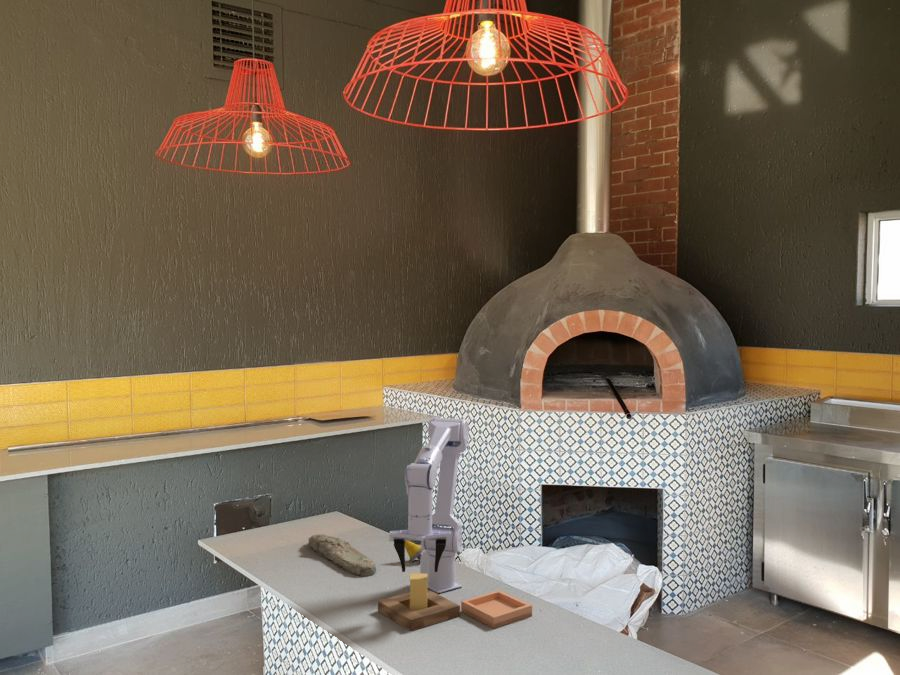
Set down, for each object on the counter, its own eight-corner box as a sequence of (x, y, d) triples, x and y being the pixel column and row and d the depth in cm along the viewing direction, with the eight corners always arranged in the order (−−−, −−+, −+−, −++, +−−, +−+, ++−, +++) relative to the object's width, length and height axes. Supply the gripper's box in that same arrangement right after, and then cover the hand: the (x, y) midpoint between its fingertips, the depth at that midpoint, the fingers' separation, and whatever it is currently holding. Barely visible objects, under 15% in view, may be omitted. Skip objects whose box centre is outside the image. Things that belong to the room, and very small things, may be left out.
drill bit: (420, 568, 212) (396, 542, 213) (417, 570, 217) (392, 545, 218) (433, 554, 214) (408, 529, 215) (429, 556, 219) (405, 531, 220)
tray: (461, 611, 180) (461, 601, 180) (498, 600, 188) (498, 590, 188) (493, 628, 171) (494, 617, 171) (532, 615, 178) (532, 605, 178)
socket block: (377, 611, 180) (378, 600, 180) (425, 597, 189) (425, 588, 189) (411, 631, 169) (411, 620, 169) (459, 616, 178) (459, 605, 177)
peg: (409, 617, 177) (410, 579, 176) (410, 610, 181) (410, 573, 180) (426, 617, 177) (427, 579, 176) (427, 610, 181) (427, 573, 180)
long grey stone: (353, 585, 201) (385, 580, 207) (354, 566, 201) (386, 561, 207) (299, 544, 229) (328, 540, 235) (300, 527, 229) (330, 524, 235)
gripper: (388, 518, 174) (388, 576, 174) (451, 518, 174) (450, 576, 175) (390, 510, 181) (390, 566, 181) (450, 510, 181) (450, 566, 182)
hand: (419, 570), depth 178 cm, fingers open, 7 cm apart
